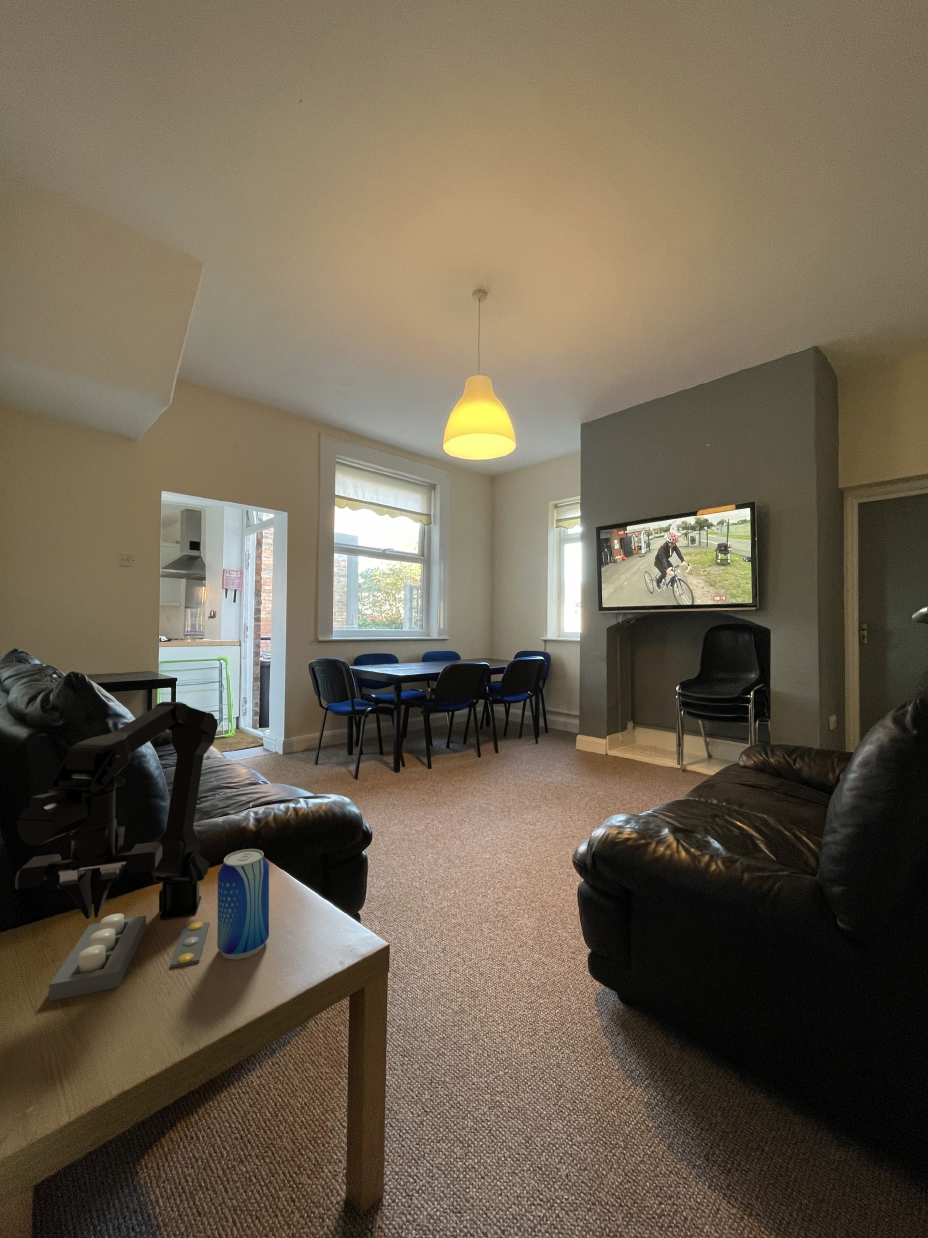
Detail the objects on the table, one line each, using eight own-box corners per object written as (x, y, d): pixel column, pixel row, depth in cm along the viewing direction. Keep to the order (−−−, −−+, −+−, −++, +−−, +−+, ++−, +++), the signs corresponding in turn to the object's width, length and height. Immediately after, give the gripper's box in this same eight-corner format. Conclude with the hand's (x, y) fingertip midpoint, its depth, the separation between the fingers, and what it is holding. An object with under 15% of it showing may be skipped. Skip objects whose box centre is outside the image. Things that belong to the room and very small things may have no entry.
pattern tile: (209, 924, 99) (209, 920, 99) (199, 963, 87) (199, 959, 87) (183, 928, 97) (183, 924, 97) (169, 969, 86) (169, 964, 86)
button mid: (117, 941, 90) (118, 927, 90) (111, 953, 87) (111, 938, 87) (94, 945, 89) (94, 930, 89) (86, 957, 86) (87, 942, 86)
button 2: (126, 926, 95) (126, 912, 95) (120, 936, 91) (120, 922, 92) (104, 929, 94) (104, 915, 94) (97, 940, 90) (97, 926, 90)
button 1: (108, 958, 85) (108, 943, 85) (101, 971, 82) (101, 955, 82) (83, 963, 84) (83, 947, 84) (75, 976, 81) (75, 960, 81)
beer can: (277, 946, 92) (277, 855, 92) (229, 969, 85) (229, 872, 86) (255, 928, 97) (256, 843, 98) (209, 948, 91) (210, 857, 92)
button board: (145, 929, 97) (145, 915, 97) (117, 987, 81) (118, 971, 81) (89, 938, 94) (89, 924, 94) (49, 1001, 78) (49, 984, 78)
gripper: (169, 798, 94) (168, 884, 94) (46, 810, 88) (45, 902, 88) (154, 819, 84) (154, 916, 83) (13, 835, 78) (12, 939, 77)
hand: (92, 917), depth 83 cm, fingers closed
